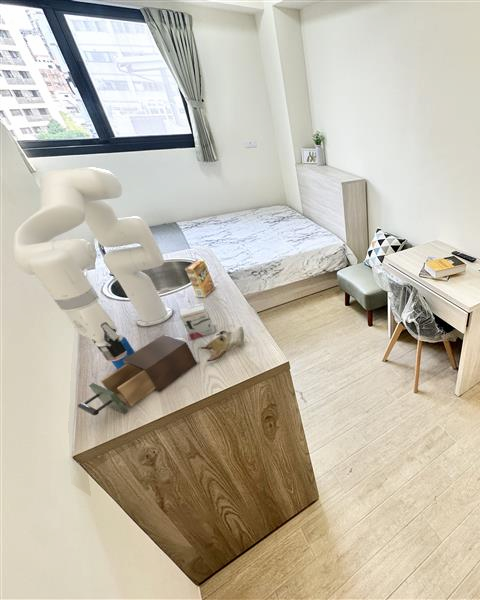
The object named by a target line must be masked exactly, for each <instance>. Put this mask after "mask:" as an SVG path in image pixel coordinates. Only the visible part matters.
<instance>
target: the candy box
mask: <svg viewBox="0 0 480 600" xmlns="http://www.w3.org/2000/svg"><path fill="white" fill-rule="evenodd" d="M184 270H185V272H186V274H187V277H188V279H189V282H190V283H191V286H192V288H193V290H194V293H195V295H196V297H197V298H206V297H207V296H208V295H210V293H211V292H212V291H214V290H215V289H216V286H215V284H214V281H213V279H212V276H211V274H210V271H209V269H208V266H207V264H206V261H205V259H195V260H194V261H193V262H192V263H191V264H189V265H187V266H186V267H185V268H184Z"/></svg>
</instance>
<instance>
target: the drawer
mask: <svg viewBox="0 0 480 600" xmlns="http://www.w3.org/2000/svg"><path fill="white" fill-rule="evenodd" d="M100 383H101V384H102V385H103V386H101V385H99V384H97V383H95V382H92V383H90V384H89V385H88V387H89V388H90V389H91V390H92V392H93V393H94V394H95V395H93V396H92V397H90V398H88V399H87V400H86V401H84V402H80V403H79V404H77V408H79V409H80V410H83V411H84V412H86V413H88V414H90V415H92V416H97V415H99V414H100V411H102V410H103V409H105V408H106V407H108V408H110V409H112V410H115V411H116V412H118V413H121V414H122V415H126V414H127V413H129V410H128V408H127V407H126V406H125V405H127V406H129V407H133V406H134V405H135V404H137V403H138V402H139V401H140V400H142V399H143V398H145V397H146V396H147V395H149V394H150V393H152V392H153V391H155V390H154V389H155V388H156V387H155V385H154V383H153V382H152V380H151V379H150V377H149V376H148V374H147V373H146V371H145V370H143V369H140V368H138V367H135V366H133V365H130V364H128V363H127V364H125V365H124V366H122V367H121V368H119V369H118V370H117V369H116V370H114V371H113V372H111V373H110V374H108V375H107V376H105V377H103V378H102V379H101V380H100ZM95 399H99V401H100V402H101V403H102V405H101V406H100V407H98V408H97V409H96V408H94V407H92V406H90V405H89V403H91V402H92V401H95Z"/></svg>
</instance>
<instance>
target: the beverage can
mask: <svg viewBox="0 0 480 600" xmlns="http://www.w3.org/2000/svg"><path fill="white" fill-rule="evenodd" d="M117 335H118V336H119V337H120V338H119V339H120V341H121V343H122V344H123V346H124V348H125V349H126V351H127V353H126V355H125V356H124V357H123V358H121V359H119V360H116V361H111V363H112V364H113V366H114V367H115V369H116V370H118V369H119V368H121V367H122V366H124V365H125V363H124V361H123V359H125V358H127V357H128V356H130V355H131V354H133V353H135V352H136V351H135V350H134V349H133V347H132V345H131V344H130V342H129V341H128V339H127V337H126V336H123V335H122V334H117Z"/></svg>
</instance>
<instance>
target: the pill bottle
mask: <svg viewBox="0 0 480 600" xmlns="http://www.w3.org/2000/svg"><path fill="white" fill-rule="evenodd" d="M104 335H106V333H105V334H104ZM106 339H107V340H108V341H109V339H110V336H109V337H107V338H106ZM95 344H96V345H95ZM94 345H95V346H96V348H97V349H98V350H99V352H100V353H101V354H102V356H103V357H104V358H105V360H106V361H107V362H112V361H116V360H119V359H121V358H123V357H124V356H125V355H126V353H127V351H125V352H124V353H122V354H120V355H119V356H117V357H113V356H112V355H111V353H110V352H109V351H108V349H107V348H106V346H107V345H106V344H105V343H104V341H103V340H101V341H96V342H95V343H94Z"/></svg>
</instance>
